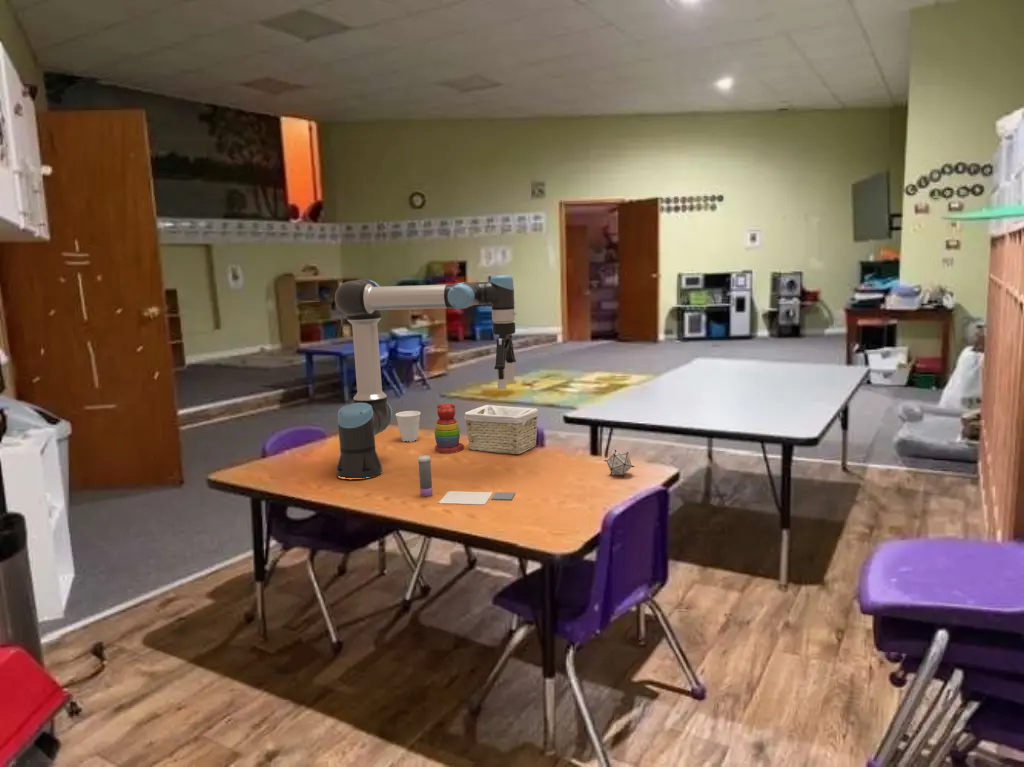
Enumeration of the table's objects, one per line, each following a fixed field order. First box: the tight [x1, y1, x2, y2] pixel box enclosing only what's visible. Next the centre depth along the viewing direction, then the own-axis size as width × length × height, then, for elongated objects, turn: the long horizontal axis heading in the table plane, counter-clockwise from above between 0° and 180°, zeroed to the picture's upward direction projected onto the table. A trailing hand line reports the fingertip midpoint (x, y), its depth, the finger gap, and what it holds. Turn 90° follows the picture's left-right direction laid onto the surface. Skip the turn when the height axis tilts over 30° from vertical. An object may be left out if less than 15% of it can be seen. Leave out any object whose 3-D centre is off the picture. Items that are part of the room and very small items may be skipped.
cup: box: [395, 410, 422, 443], centre depth 297 cm, size 10×10×11 cm
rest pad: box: [491, 491, 516, 501], centre depth 224 cm, size 6×6×1 cm
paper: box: [438, 490, 494, 506], centre depth 224 cm, size 14×11×1 cm
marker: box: [417, 454, 434, 498], centre depth 228 cm, size 4×4×12 cm
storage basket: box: [464, 404, 540, 455], centre depth 279 cm, size 24×16×15 cm
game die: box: [603, 449, 635, 478], centre depth 240 cm, size 9×8×10 cm
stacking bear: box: [434, 403, 465, 454], centre depth 279 cm, size 11×10×18 cm
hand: (506, 385), depth 252 cm, fingers open, 13 cm apart
